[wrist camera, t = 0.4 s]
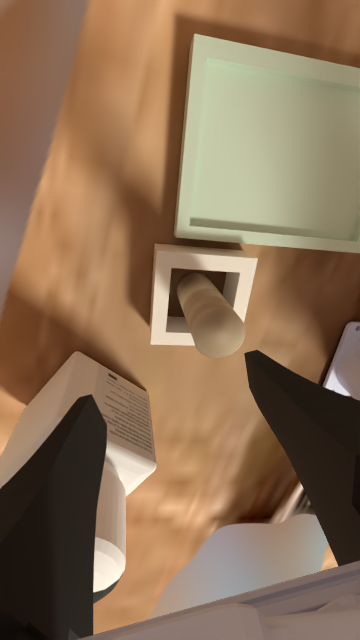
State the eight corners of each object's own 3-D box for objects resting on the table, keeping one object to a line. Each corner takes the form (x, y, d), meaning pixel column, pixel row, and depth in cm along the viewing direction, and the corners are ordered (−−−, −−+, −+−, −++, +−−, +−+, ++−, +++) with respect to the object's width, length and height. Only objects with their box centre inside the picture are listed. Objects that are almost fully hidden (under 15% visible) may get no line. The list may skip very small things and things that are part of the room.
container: (98, 445, 26) (74, 645, 15) (21, 410, 23) (-86, 630, 11) (150, 392, 25) (171, 569, 13) (76, 347, 21) (17, 528, 10)
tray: (406, 90, 17) (427, 82, 16) (349, 250, 21) (362, 253, 20) (189, 46, 15) (194, 33, 14) (173, 234, 19) (176, 237, 18)
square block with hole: (243, 250, 20) (257, 258, 18) (228, 329, 23) (238, 346, 20) (154, 243, 19) (156, 250, 17) (149, 327, 22) (150, 344, 19)
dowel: (214, 273, 21) (250, 312, 14) (209, 307, 22) (240, 358, 15) (178, 271, 20) (197, 309, 13) (174, 306, 21) (190, 357, 15)
